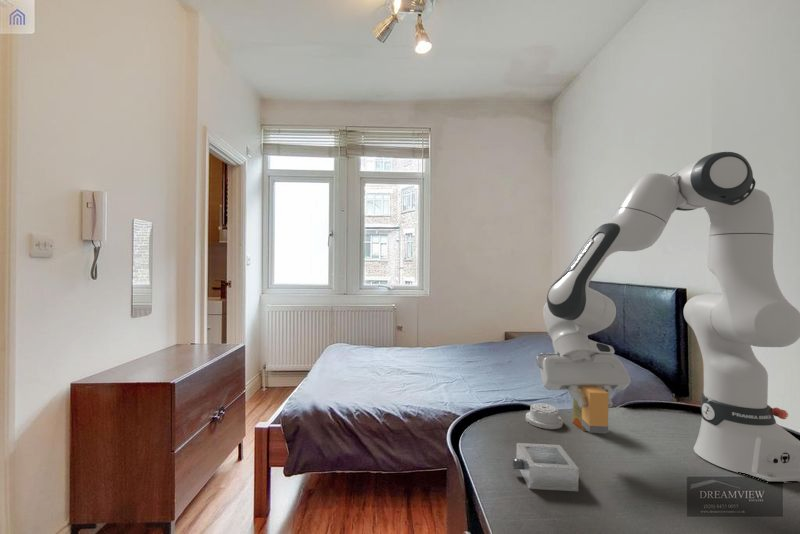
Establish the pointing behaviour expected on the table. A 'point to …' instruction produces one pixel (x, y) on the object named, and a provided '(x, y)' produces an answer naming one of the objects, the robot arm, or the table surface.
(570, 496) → the table surface
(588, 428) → the plug
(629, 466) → the table surface
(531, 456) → the white shallow box
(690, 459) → the table surface
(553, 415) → the mechanical component
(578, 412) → the shoe polish box
